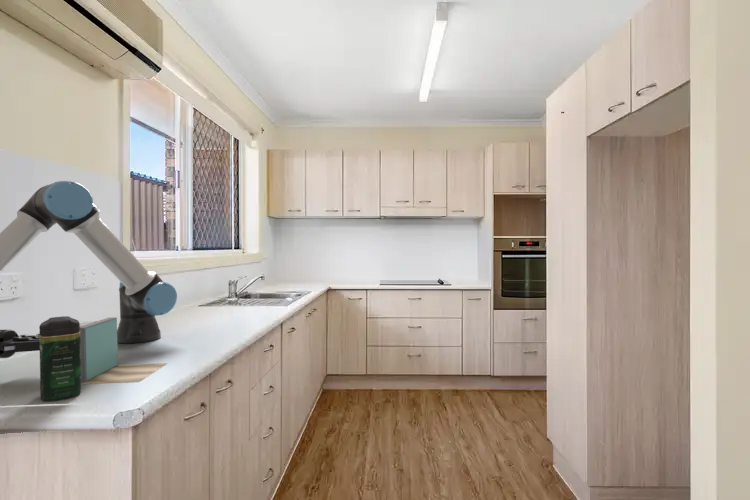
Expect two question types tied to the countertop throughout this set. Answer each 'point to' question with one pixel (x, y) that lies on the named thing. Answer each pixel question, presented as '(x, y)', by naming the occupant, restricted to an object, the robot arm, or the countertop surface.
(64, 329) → the coffee jar
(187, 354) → the countertop surface
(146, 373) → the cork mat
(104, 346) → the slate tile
